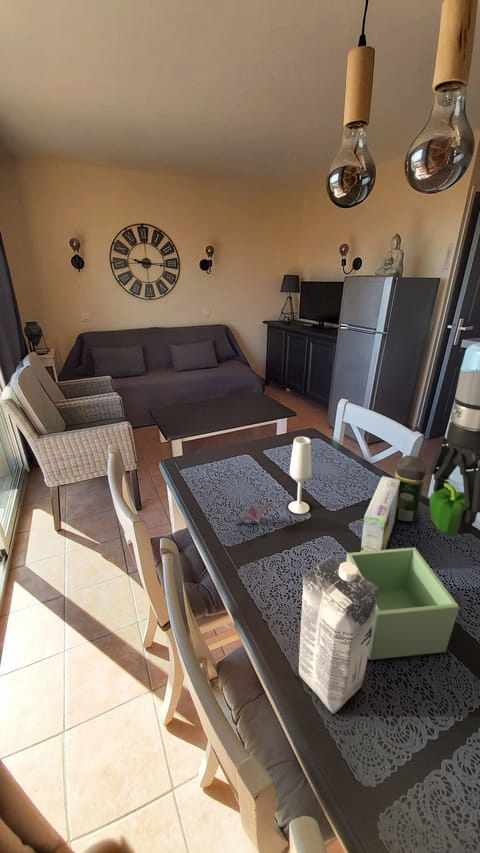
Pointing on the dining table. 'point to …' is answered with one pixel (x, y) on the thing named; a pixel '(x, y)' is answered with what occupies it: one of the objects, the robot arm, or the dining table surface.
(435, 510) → the bell pepper
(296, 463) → the champagne flute
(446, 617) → the open storage box
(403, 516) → the coffee jar
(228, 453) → the dining table surface
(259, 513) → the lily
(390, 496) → the snack box
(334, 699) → the juice carton
